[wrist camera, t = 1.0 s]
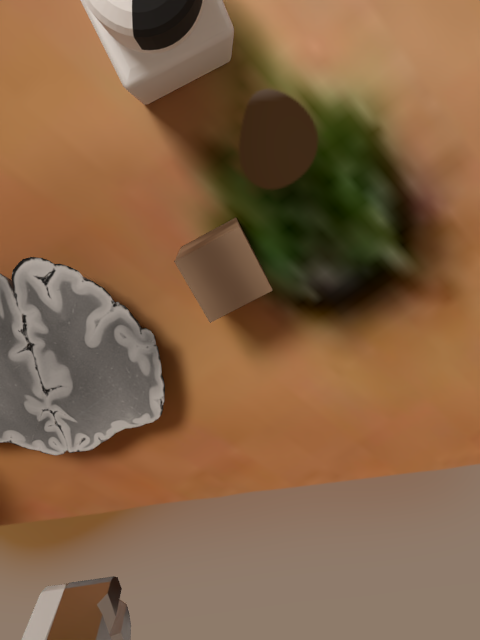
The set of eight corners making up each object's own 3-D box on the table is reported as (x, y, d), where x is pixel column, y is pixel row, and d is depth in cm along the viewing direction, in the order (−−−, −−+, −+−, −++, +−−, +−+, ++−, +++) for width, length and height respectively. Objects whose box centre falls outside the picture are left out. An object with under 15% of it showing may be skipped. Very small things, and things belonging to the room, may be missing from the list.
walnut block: (236, 217, 36) (239, 226, 30) (264, 271, 37) (272, 290, 31) (181, 247, 36) (174, 261, 30) (211, 299, 38) (209, 322, 32)
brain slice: (140, 235, 36) (133, 240, 33) (181, 418, 41) (178, 436, 39) (-101, 273, 36) (-128, 282, 33) (-28, 451, 42) (-46, 471, 39)
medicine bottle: (186, -50, 30) (166, -184, 18) (232, 61, 32) (240, 1, 21) (93, 2, 30) (18, -96, 19) (144, 107, 33) (104, 74, 21)
